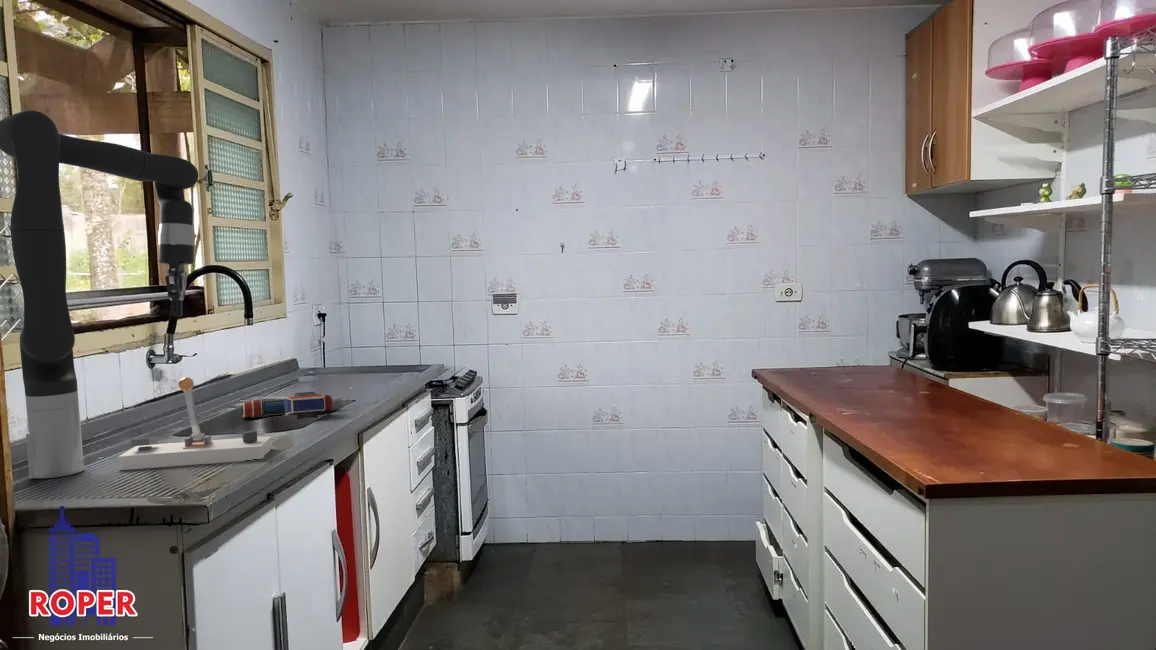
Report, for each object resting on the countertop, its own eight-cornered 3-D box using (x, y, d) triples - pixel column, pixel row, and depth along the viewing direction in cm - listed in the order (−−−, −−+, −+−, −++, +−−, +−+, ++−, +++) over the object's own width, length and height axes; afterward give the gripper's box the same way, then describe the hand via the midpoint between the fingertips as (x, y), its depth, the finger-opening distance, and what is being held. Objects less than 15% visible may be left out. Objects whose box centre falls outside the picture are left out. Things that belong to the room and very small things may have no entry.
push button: (255, 441, 175) (255, 433, 175) (241, 442, 174) (241, 433, 174) (258, 439, 178) (258, 430, 178) (244, 440, 177) (244, 431, 177)
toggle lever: (204, 445, 173) (190, 381, 166) (189, 446, 173) (175, 382, 165) (207, 437, 176) (194, 374, 169) (193, 438, 175) (179, 375, 168)
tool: (238, 401, 227) (243, 393, 210) (327, 394, 239) (339, 386, 221) (239, 428, 226) (245, 422, 208) (329, 420, 238) (341, 414, 220)
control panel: (262, 459, 172) (260, 437, 171) (119, 470, 166) (117, 447, 166) (272, 448, 182) (270, 427, 182) (138, 458, 177) (136, 436, 177)
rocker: (149, 445, 170) (149, 438, 170) (131, 446, 169) (131, 439, 169) (157, 444, 175) (157, 437, 175) (139, 445, 174) (139, 439, 174)
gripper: (164, 246, 191) (164, 316, 191) (152, 240, 179) (152, 315, 179) (198, 247, 193) (198, 316, 193) (188, 241, 181) (188, 316, 181)
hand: (176, 316), depth 186 cm, fingers closed
